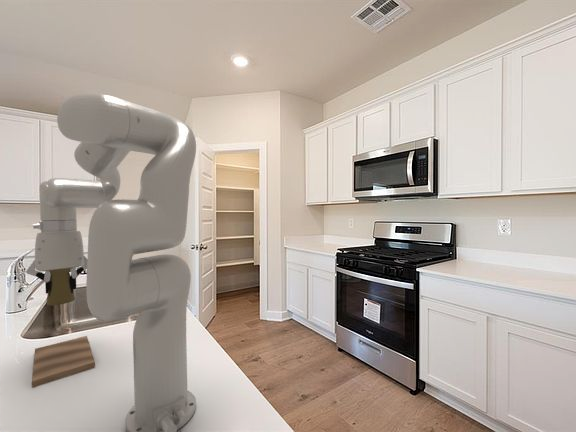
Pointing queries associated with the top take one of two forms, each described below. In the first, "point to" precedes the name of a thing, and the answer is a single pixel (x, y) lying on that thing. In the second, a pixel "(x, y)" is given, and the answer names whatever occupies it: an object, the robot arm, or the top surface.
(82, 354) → the walnut board
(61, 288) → the cork
